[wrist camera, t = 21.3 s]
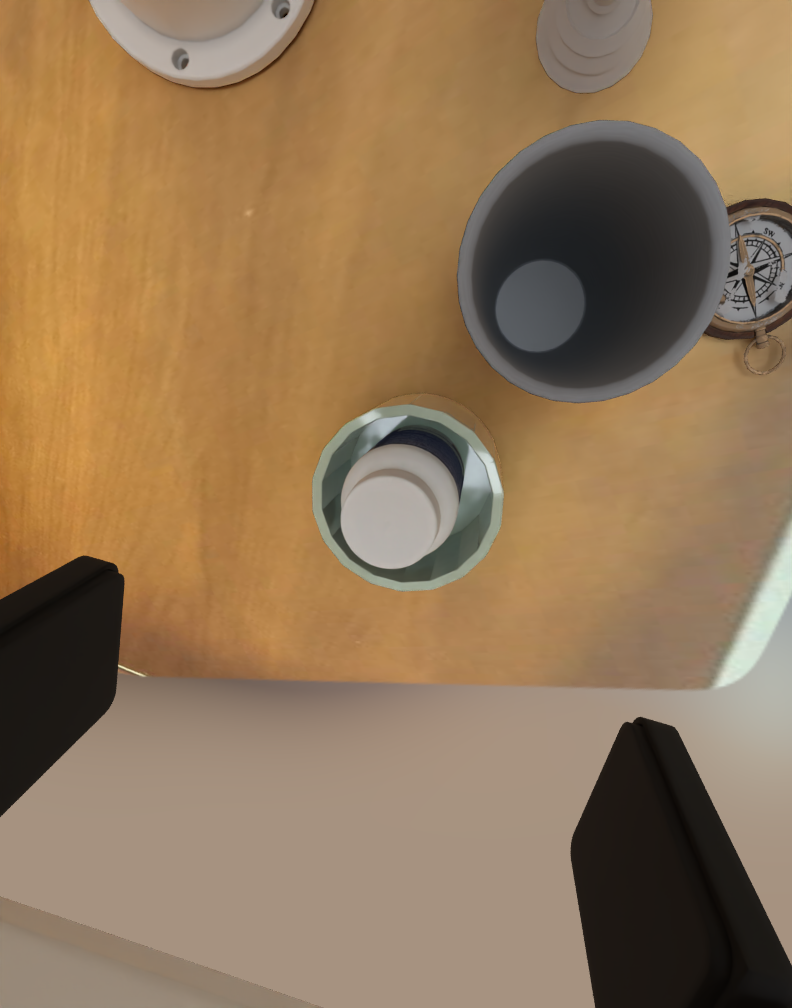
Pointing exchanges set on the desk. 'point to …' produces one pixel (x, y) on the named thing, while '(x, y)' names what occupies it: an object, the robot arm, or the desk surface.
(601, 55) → the chalice
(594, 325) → the cup
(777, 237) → the compass
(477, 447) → the open cylindrical container
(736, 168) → the desk surface
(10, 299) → the desk surface
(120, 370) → the desk surface
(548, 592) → the desk surface
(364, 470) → the pill bottle
